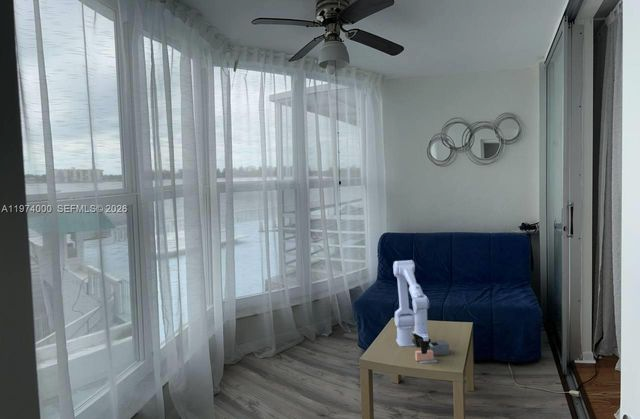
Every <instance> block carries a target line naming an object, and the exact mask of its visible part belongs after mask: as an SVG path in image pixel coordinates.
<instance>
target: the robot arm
mask: <svg viewBox="0 0 640 419" xmlns="http://www.w3.org/2000/svg"><path fill="white" fill-rule="evenodd" d="M415 267H416V264H415V262H414V261H413V260H412V259H410V260H409V259H407V260H395V261H393V265H392V269H393V275H394V277H396V279H397V291H398V301H399V302H398V305H399V306H398V309H396V310H395V311H394V318H393V319H394V324H395V326H396V327H397V328H396V339H395V341H396V343H397V344H398V345H399V347H412V346H413V347H414V346H415V347H416V348H420V351H421V352H422V354H427V350H428V346H429V344H430V342H432V339H430V338H429V332H428V309H429V308H430V300H429V298H428V297H427V295H426V294H424V292H423V288H422V287H421V285H420V284H419V283H417V280H416V276H415V269H416V268H415ZM409 294H410V296H411V299H412V300H411V301H412V303H411V304H412V309H411V308H410V304H409V302H410V301H409ZM413 328H414V329H413ZM413 338H414V341H415V343H414V341H413Z"/></svg>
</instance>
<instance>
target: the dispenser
mask: <svg viewBox="0 0 640 419" xmlns="http://www.w3.org/2000/svg"><path fill="white" fill-rule="evenodd" d="M428 350H432V351H433V357H437V356H449V355H450V344H449V343H448V341H446V340H445V339H444V340H443V339H441V340H439V339H437V340H434V341H431V342H430V344H429V346H428Z"/></svg>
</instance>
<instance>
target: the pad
mask: <svg viewBox="0 0 640 419" xmlns="http://www.w3.org/2000/svg"><path fill="white" fill-rule="evenodd" d="M431 363H432V364H433V363H435V364H436V363H439V361H438V360H437V359H436V358H435V356H433V360H423V361H419V364H421V365H423V364H431Z"/></svg>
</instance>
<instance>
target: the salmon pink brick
mask: <svg viewBox="0 0 640 419" xmlns="http://www.w3.org/2000/svg"><path fill="white" fill-rule="evenodd" d="M414 353H415V354H414V355H415V360H416V361H417V362H420V361H423V360H433V357H434V356H433V351H432V350H427V354H422V352H421V350H415V352H414Z"/></svg>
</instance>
